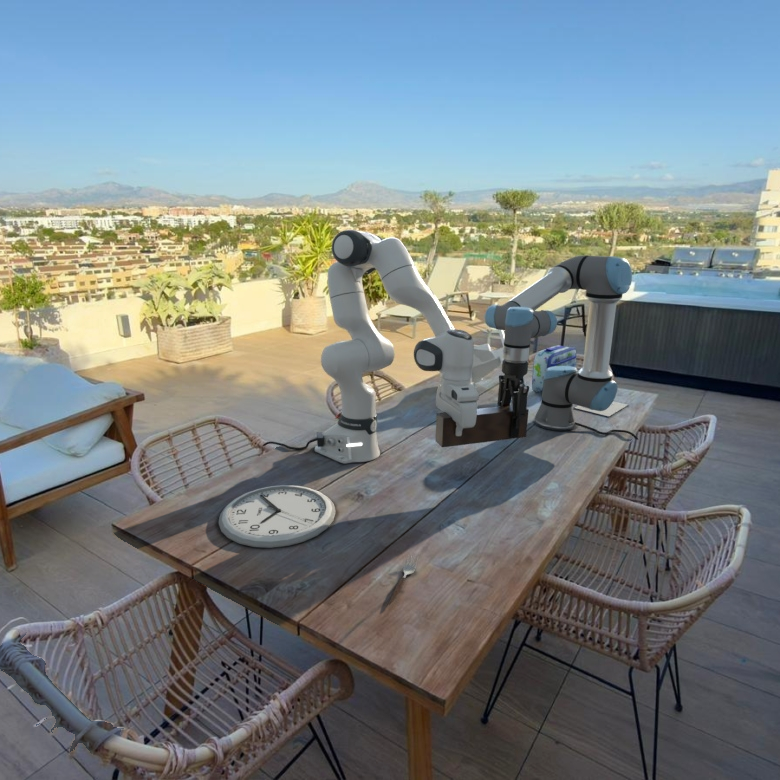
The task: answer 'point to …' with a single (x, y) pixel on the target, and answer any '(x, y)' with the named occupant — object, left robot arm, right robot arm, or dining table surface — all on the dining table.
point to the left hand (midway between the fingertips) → (453, 431)
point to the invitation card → (609, 411)
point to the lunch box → (551, 363)
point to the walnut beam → (479, 427)
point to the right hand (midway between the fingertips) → (509, 433)
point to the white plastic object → (487, 360)
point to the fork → (407, 571)
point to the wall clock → (277, 516)
